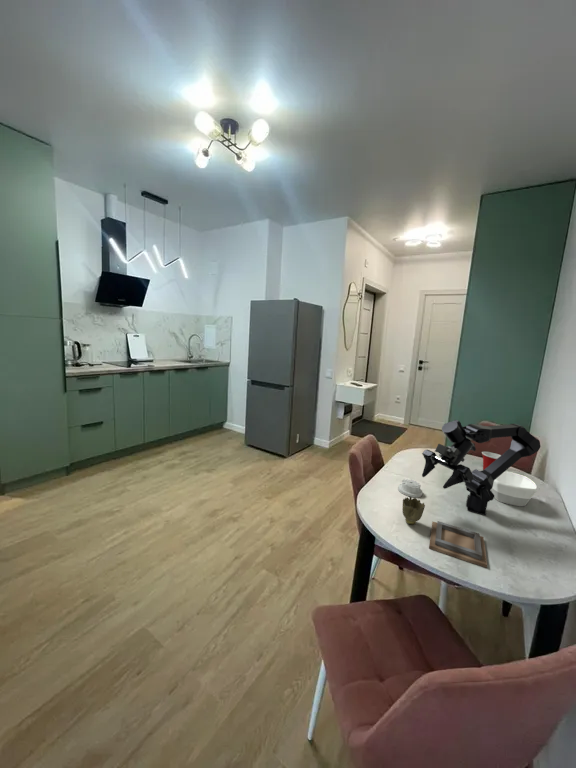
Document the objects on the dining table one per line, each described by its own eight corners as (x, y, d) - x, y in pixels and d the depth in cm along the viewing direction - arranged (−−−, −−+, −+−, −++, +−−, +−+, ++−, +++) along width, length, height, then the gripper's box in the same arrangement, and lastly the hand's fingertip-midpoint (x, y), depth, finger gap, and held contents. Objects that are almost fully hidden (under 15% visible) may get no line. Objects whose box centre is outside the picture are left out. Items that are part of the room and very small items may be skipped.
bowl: (539, 514, 135) (544, 492, 133) (489, 503, 140) (493, 482, 138) (524, 494, 151) (528, 475, 150) (480, 485, 157) (484, 466, 155)
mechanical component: (394, 491, 143) (418, 500, 137) (395, 482, 142) (419, 490, 136) (402, 484, 151) (424, 492, 145) (403, 475, 150) (426, 482, 144)
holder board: (482, 539, 113) (484, 532, 113) (486, 568, 99) (488, 560, 99) (432, 523, 120) (433, 517, 120) (428, 548, 106) (430, 541, 106)
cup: (395, 518, 122) (398, 497, 120) (411, 515, 124) (414, 495, 123) (409, 530, 115) (412, 508, 114) (426, 527, 118) (429, 506, 116)
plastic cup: (504, 478, 168) (509, 455, 166) (500, 484, 160) (505, 460, 158) (480, 470, 175) (484, 448, 173) (475, 476, 167) (479, 453, 165)
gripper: (429, 429, 130) (404, 458, 127) (475, 446, 114) (447, 480, 110) (439, 447, 135) (415, 475, 132) (484, 465, 119) (458, 499, 115)
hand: (432, 482), depth 122 cm, fingers open, 9 cm apart
